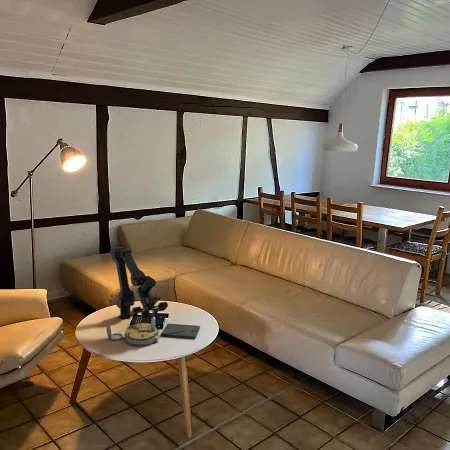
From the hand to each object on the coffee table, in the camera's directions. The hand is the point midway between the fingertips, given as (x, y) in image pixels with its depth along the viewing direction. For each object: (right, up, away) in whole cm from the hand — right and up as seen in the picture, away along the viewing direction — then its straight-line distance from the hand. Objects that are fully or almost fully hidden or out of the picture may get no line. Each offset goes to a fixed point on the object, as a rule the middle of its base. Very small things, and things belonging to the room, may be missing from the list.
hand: (154, 324), depth 224 cm
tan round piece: (-7, -5, +1) cm, 8 cm away
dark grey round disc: (-7, -7, +2) cm, 10 cm away
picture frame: (+12, -7, +10) cm, 17 cm away
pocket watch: (-21, -7, +1) cm, 22 cm away
